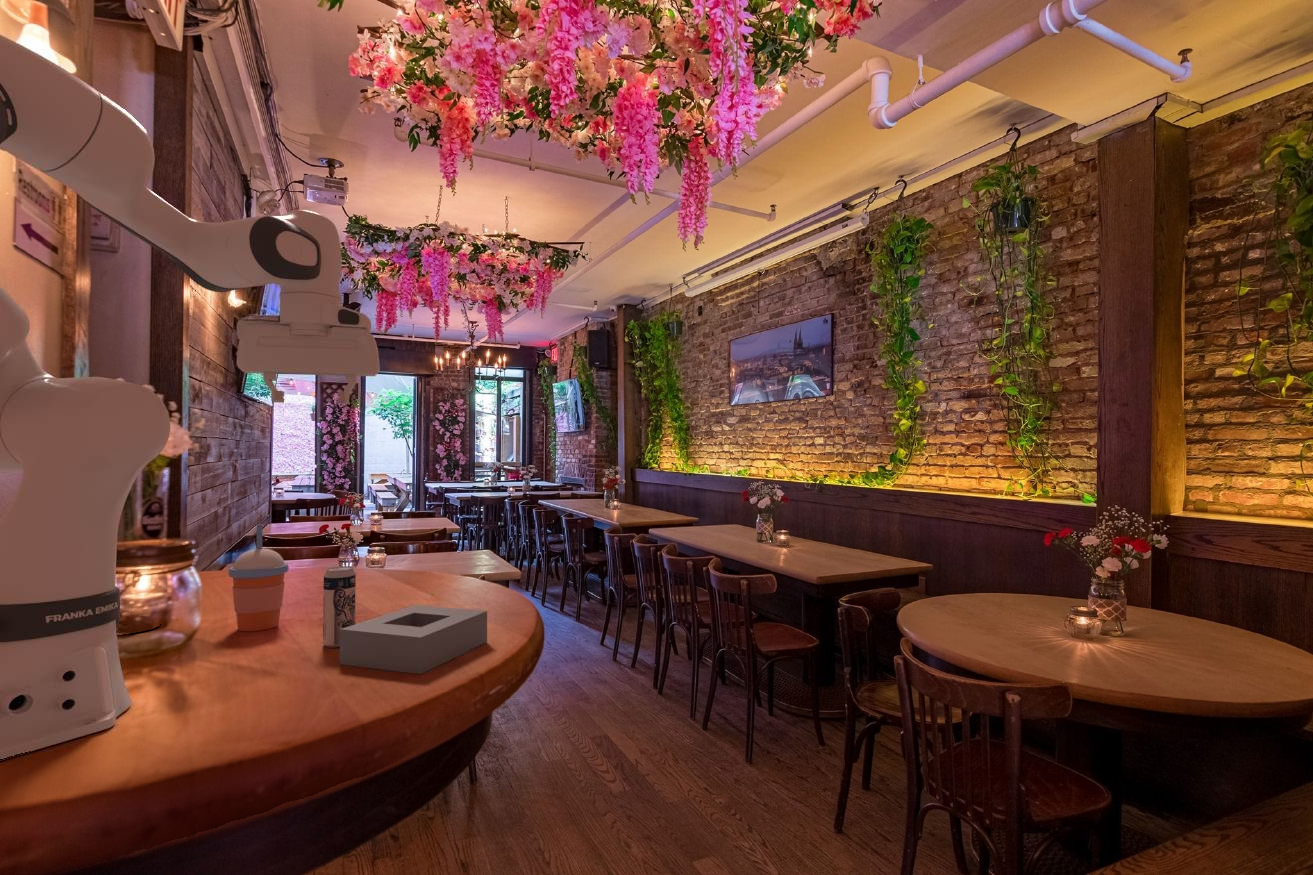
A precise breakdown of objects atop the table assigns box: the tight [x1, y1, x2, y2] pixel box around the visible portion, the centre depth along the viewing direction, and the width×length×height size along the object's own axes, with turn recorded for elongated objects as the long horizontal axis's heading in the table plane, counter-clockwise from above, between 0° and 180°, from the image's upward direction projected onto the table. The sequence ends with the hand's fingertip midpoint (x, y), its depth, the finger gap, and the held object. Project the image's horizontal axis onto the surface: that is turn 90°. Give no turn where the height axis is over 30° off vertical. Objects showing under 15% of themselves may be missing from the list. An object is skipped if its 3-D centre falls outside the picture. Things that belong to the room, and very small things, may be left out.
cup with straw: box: [227, 523, 289, 632], centre depth 115 cm, size 9×9×18 cm
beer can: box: [322, 566, 357, 649], centre depth 104 cm, size 5×5×12 cm
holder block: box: [339, 604, 488, 675], centre depth 99 cm, size 16×14×5 cm
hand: (311, 402), depth 105 cm, fingers open, 8 cm apart
